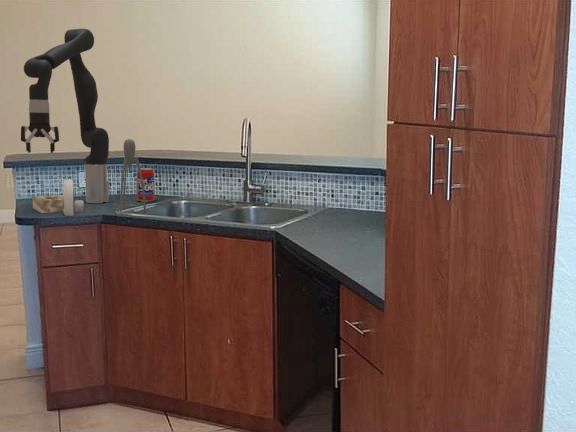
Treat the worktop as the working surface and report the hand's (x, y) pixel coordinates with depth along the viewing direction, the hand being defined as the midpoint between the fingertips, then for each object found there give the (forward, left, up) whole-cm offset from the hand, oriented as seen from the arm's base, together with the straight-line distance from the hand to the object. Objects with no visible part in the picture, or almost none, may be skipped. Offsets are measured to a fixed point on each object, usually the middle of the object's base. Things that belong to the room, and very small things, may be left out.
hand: (40, 152), depth 284 cm
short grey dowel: (-14, +3, -24) cm, 28 cm away
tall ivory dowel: (-8, +9, -24) cm, 27 cm away
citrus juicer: (-32, +11, -25) cm, 42 cm away
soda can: (-51, -13, -25) cm, 58 cm away
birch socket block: (-6, -6, -24) cm, 26 cm away
